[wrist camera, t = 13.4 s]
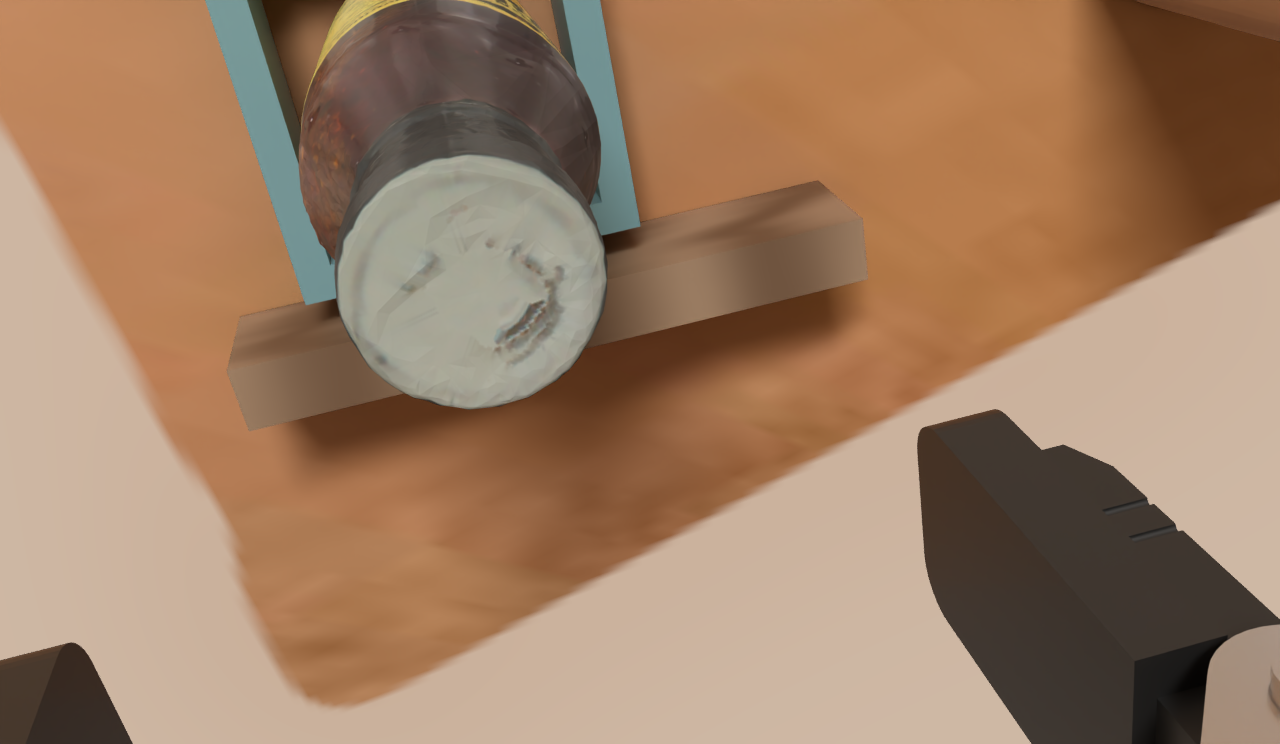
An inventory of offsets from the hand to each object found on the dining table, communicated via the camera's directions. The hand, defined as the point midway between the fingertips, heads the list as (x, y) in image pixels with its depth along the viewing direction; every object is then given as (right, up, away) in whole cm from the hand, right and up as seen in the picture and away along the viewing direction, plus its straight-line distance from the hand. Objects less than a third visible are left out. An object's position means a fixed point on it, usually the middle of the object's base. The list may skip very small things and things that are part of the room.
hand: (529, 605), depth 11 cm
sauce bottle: (-5, +12, +24) cm, 27 cm away
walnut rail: (-2, +5, +27) cm, 28 cm away
